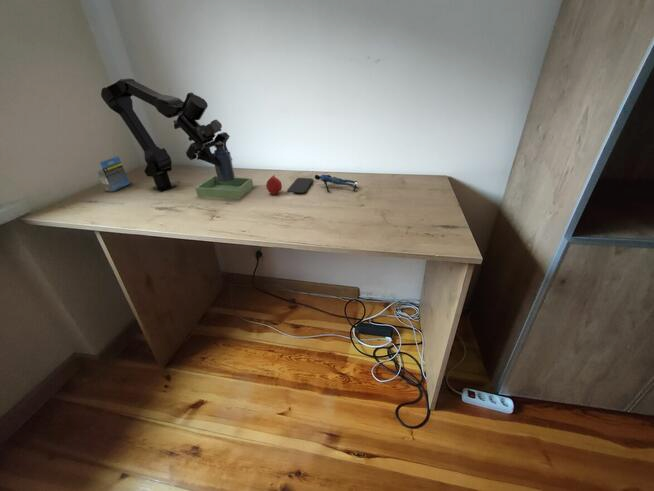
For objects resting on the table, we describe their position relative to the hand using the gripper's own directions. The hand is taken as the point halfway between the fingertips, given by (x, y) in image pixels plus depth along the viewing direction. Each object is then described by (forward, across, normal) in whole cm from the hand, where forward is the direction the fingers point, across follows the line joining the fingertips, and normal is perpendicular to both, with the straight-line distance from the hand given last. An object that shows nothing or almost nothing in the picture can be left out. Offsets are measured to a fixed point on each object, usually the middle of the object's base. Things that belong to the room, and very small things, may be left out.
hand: (226, 163), depth 108 cm
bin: (+6, +3, +13) cm, 14 cm away
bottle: (+3, 0, +5) cm, 6 cm away
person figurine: (+34, +20, -16) cm, 43 cm away
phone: (+24, +17, -6) cm, 30 cm away
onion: (+20, +6, -1) cm, 21 cm away
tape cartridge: (-28, -6, +48) cm, 55 cm away
